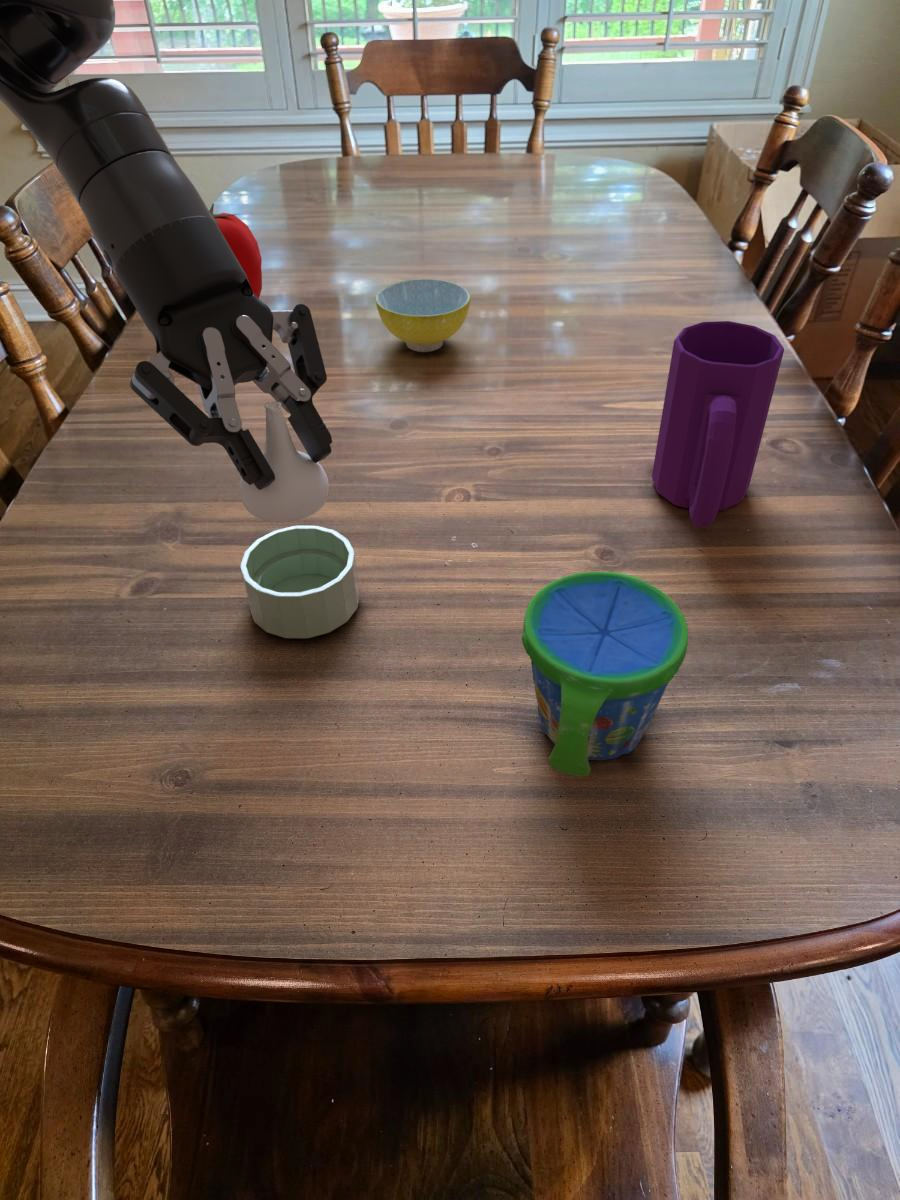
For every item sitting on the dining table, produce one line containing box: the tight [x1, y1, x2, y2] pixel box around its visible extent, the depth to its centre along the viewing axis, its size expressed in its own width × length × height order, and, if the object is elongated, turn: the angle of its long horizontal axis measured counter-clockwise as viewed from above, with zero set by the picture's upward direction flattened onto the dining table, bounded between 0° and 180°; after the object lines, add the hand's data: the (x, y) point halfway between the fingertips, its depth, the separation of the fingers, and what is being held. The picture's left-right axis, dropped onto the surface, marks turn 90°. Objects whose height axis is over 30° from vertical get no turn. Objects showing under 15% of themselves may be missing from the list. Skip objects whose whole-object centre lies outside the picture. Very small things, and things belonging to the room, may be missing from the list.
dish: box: [239, 524, 361, 639], centre depth 71 cm, size 9×9×5 cm
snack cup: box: [521, 571, 689, 777], centre depth 59 cm, size 16×10×10 cm
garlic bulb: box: [238, 400, 330, 523], centre depth 61 cm, size 6×6×8 cm
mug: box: [651, 320, 785, 529], centre depth 77 cm, size 9×16×15 cm, turn 167°
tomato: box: [209, 203, 263, 300], centre depth 113 cm, size 12×12×13 cm
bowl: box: [375, 278, 471, 353], centre depth 107 cm, size 11×12×6 cm
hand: (295, 469), depth 60 cm, fingers closed on garlic bulb, 4 cm apart
